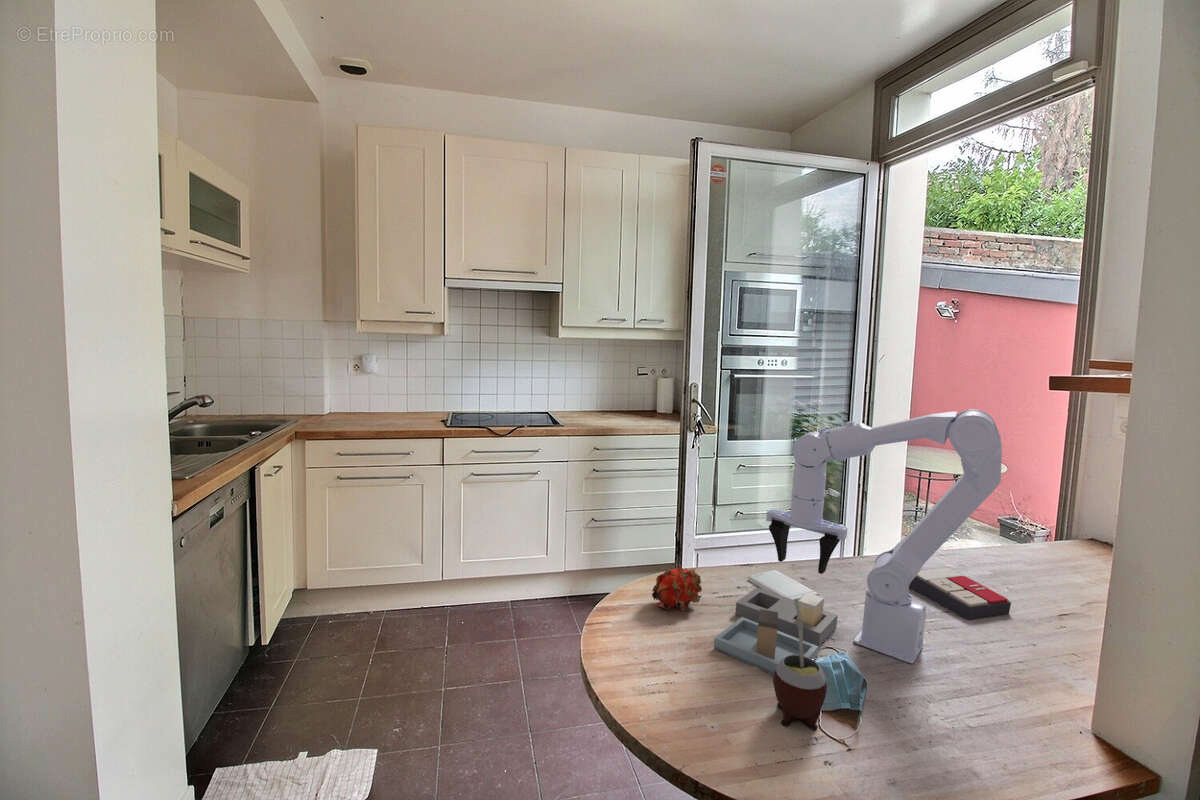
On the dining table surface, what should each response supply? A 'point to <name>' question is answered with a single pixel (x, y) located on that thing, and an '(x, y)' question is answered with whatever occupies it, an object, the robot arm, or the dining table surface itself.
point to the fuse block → (785, 615)
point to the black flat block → (960, 594)
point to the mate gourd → (799, 685)
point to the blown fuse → (767, 633)
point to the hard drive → (780, 585)
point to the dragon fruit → (677, 588)
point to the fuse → (811, 609)
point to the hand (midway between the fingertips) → (801, 565)
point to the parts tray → (743, 645)
